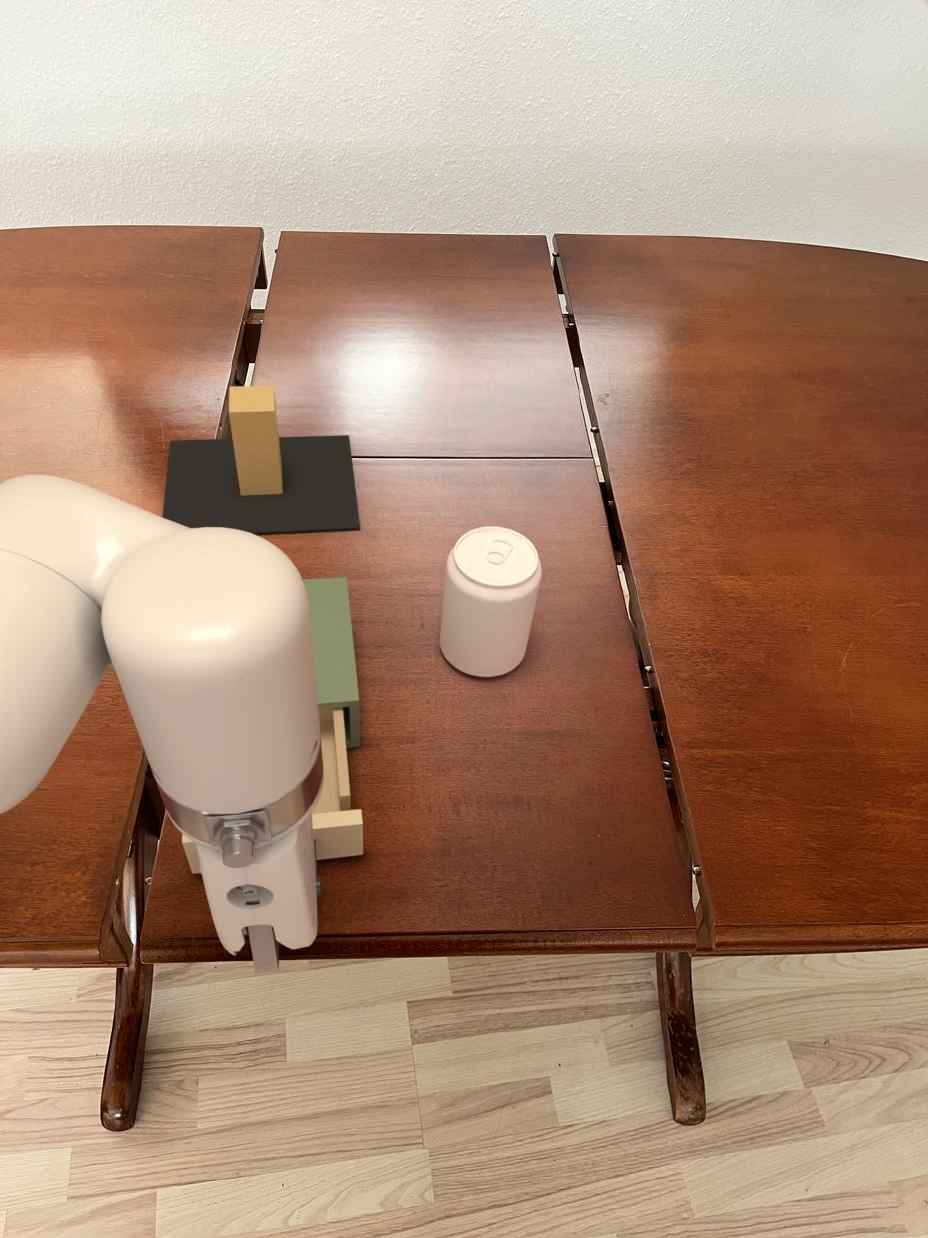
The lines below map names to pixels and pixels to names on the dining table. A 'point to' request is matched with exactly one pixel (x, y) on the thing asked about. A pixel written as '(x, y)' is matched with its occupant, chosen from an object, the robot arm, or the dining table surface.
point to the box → (256, 439)
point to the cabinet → (334, 651)
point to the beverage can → (489, 601)
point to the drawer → (325, 801)
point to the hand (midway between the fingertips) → (276, 922)
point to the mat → (308, 503)
